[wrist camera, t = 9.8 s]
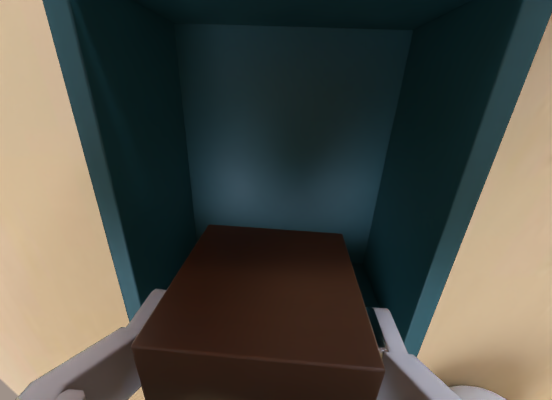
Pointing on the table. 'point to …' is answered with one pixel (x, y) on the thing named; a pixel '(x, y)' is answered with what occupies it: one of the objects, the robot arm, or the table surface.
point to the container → (295, 127)
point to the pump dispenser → (475, 393)
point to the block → (261, 322)
